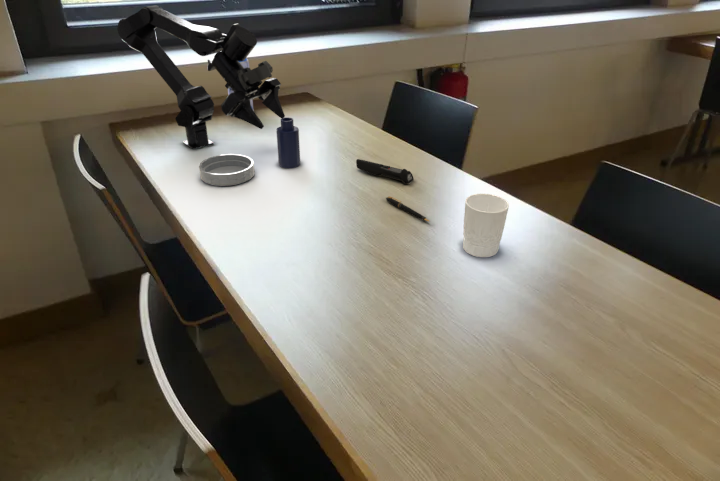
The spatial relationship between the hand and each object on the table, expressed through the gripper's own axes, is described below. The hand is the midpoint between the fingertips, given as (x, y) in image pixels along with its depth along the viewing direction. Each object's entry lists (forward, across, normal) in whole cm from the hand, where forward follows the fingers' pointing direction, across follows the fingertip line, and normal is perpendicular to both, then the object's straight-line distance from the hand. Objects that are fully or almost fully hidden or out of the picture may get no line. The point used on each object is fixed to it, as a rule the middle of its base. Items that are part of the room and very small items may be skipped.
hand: (273, 122), depth 135 cm
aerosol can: (-16, +29, +31) cm, 45 cm away
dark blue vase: (+10, 0, +4) cm, 11 cm away
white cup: (+50, -18, -35) cm, 64 cm away
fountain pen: (+37, -10, -22) cm, 44 cm away
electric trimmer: (+28, +5, -13) cm, 31 cm away
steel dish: (+4, -14, +11) cm, 18 cm away
